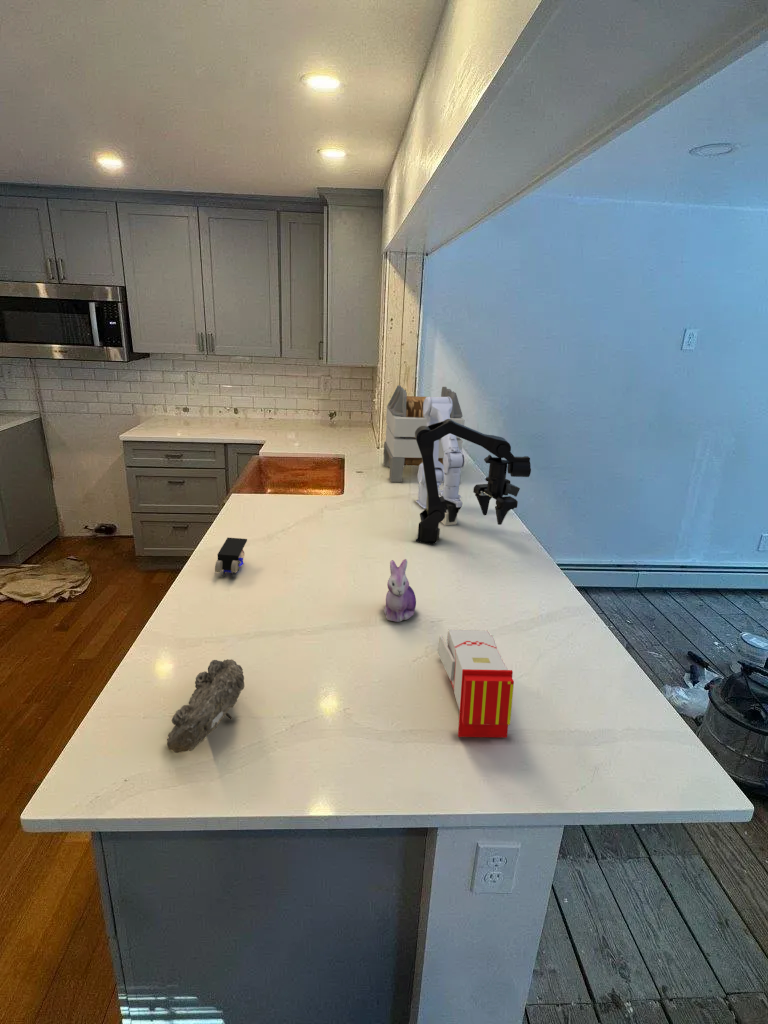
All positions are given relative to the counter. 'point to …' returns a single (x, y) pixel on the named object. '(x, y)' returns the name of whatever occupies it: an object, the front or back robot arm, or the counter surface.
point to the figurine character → (230, 556)
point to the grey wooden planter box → (410, 430)
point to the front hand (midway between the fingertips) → (492, 519)
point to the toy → (478, 682)
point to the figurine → (399, 594)
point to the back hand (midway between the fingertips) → (448, 519)
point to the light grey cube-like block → (446, 520)
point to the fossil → (206, 705)
